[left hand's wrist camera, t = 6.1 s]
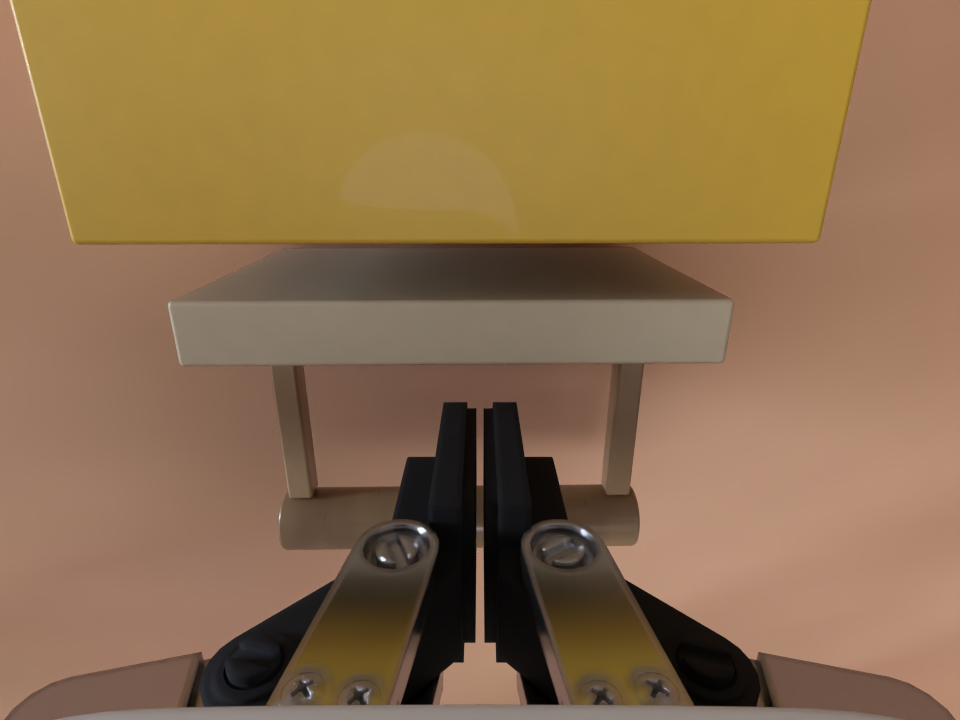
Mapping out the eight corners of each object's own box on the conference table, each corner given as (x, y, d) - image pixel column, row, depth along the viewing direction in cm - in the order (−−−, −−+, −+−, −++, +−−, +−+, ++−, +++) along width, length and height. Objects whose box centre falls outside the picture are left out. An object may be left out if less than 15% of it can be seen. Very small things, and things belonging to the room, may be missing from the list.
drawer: (612, 470, 17) (682, 620, 12) (310, 473, 17) (232, 627, 12) (725, -661, 9) (1119, -1924, 4) (166, -675, 9) (-321, -2018, 4)
